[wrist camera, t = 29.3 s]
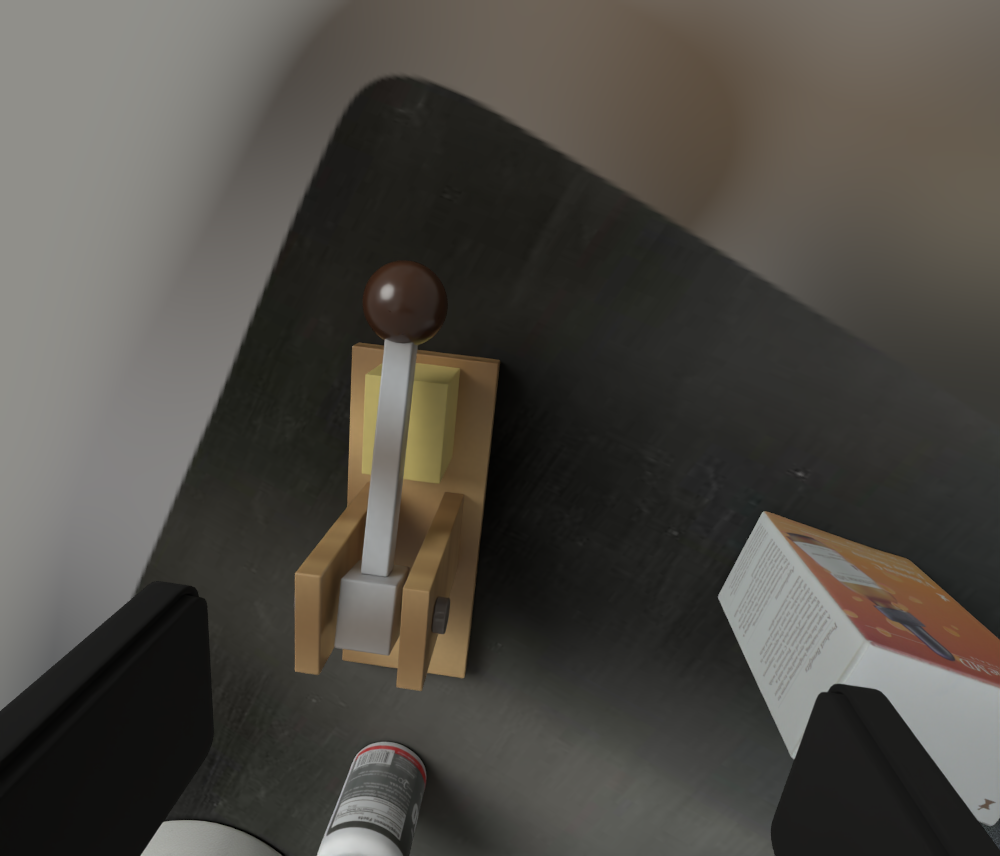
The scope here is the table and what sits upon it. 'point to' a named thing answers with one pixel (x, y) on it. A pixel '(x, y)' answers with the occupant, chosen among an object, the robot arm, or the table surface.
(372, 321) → the ball topped lever
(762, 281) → the table surface
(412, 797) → the pill bottle
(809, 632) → the small box
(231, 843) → the tape roll
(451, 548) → the wooden lever base
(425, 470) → the butter
